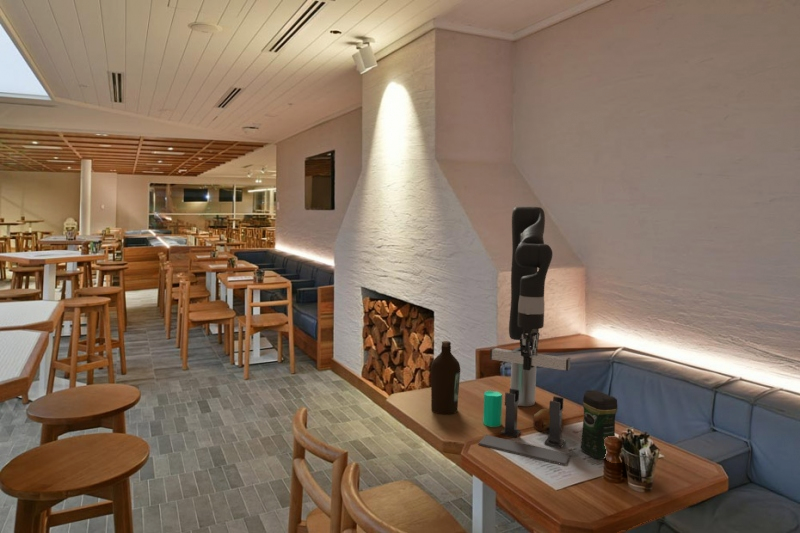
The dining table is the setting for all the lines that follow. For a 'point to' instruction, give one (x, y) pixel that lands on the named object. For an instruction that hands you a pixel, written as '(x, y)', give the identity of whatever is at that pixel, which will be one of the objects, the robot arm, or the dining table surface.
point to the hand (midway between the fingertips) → (528, 368)
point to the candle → (492, 408)
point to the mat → (525, 449)
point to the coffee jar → (597, 422)
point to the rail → (536, 359)
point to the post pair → (554, 412)
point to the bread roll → (543, 420)
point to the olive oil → (445, 381)
